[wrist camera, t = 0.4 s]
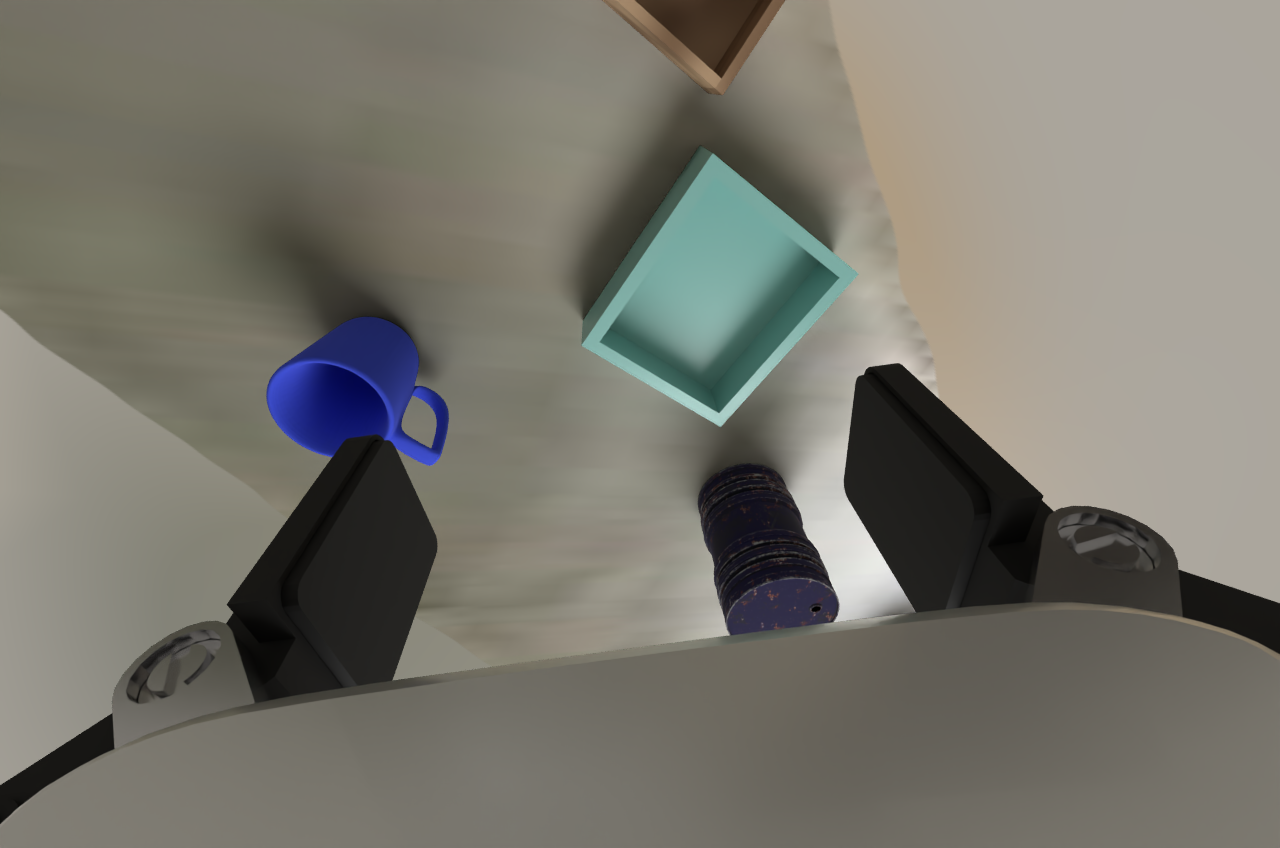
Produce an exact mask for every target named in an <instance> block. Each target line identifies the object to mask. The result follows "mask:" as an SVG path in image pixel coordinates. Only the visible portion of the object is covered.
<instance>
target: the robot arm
mask: <svg viewBox="0 0 1280 848" xmlns="http://www.w3.org/2000/svg"><path fill="white" fill-rule="evenodd" d="M844 488H845V493H846V496H847V498H848V500H849V501H850V503H851V505H852V506H853V508H854V510H855V511H856V513H857V515H858V516H859V518H860V520H861V521H862V523H863V525H864V526H865V528H866V530H867V531H868V533H869V534H870V536H871V538H872V539H873V541H874V543H875V544H876V546H877V548H878V549H879V551H880V553H881V554H882V556H883V558H884V559H885V561H886V563H887V564H888V566H889V568H890V569H891V571H892V573H893V574H894V576H895V578H896V579H897V581H898V583H899V584H900V586H901V588H902V589H903V591H904V593H905V594H906V596H907V598H908V599H909V601H910V603H911V604H912V606H913V608H914V609H915V611H916V613H909V614H900V615H891V616H882V617H873V618H865V619H857V620H849V621H841V622H833V623H825V624H817V625H809V626H801V627H793V628H785V629H778V630H770V631H762V632H754V633H746V634H738V635H730V636H722V637H714V638H707V639H699V640H691V641H684V642H676V643H668V644H661V645H653V646H645V647H638V648H630V649H623V650H615V651H607V652H600V653H592V654H585V655H577V656H570V657H562V658H555V659H547V660H539V661H532V662H525V663H518V664H510V665H503V666H496V667H489V668H481V669H475V670H467V671H460V672H453V673H445V674H438V675H430V676H423V677H415V678H408V679H401V680H393V677H394V674H395V671H396V668H397V665H398V663H399V660H400V657H401V654H402V651H403V648H404V645H405V642H406V640H407V636H408V634H409V631H410V628H411V625H412V622H413V619H414V617H415V614H416V611H417V608H418V605H419V602H420V599H421V596H422V594H423V591H424V588H425V585H426V582H427V579H428V576H429V573H430V571H431V568H432V565H433V562H434V559H435V556H436V553H437V538H436V535H435V532H434V530H433V528H432V526H431V524H430V522H429V519H428V517H427V515H426V513H425V511H424V509H423V507H422V504H421V502H420V500H419V498H418V496H417V494H416V491H415V489H414V487H413V485H412V483H411V481H410V478H409V476H408V474H407V472H406V470H405V468H404V465H403V463H402V461H401V459H400V457H399V455H398V452H397V450H396V448H395V446H394V444H393V443H392V442H391V441H390V440H384V439H383V438H382V437H381V436H380V435H377V434H375V435H367V436H360V437H353V438H347V439H346V440H345V441H344V442H343V443H342V444H341V446H340V447H339V449H338V450H337V451H336V453H335V454H334V456H333V457H332V458H331V460H330V461H329V463H328V464H327V465H326V467H325V468H324V470H323V471H322V472H321V474H320V475H319V477H318V478H317V479H316V481H315V482H314V484H313V485H312V486H311V488H310V489H309V490H308V492H307V493H306V495H305V496H304V497H303V499H302V500H301V502H300V503H299V504H298V506H297V507H296V509H295V510H294V511H293V513H292V514H291V516H290V517H289V518H288V520H287V521H286V523H285V524H284V525H283V527H282V528H281V529H280V531H279V532H278V534H277V535H276V536H275V538H274V539H273V541H272V542H271V544H270V545H269V546H268V548H267V549H266V550H265V552H264V554H263V555H262V556H261V557H260V559H259V560H258V562H257V563H256V564H255V566H254V567H253V569H252V570H251V572H250V573H249V574H248V575H247V577H246V578H245V580H244V581H243V582H242V584H241V585H240V587H239V588H238V590H237V591H236V592H235V594H234V595H233V596H232V598H231V599H230V601H229V602H228V604H227V606H228V607H229V608H230V609H231V610H232V611H233V614H232V616H231V617H230V619H229V620H228V622H227V623H226V624H225V623H222V622H219V621H206V622H201V623H197V624H194V625H190V626H187V627H185V628H183V629H181V630H178V631H176V632H174V633H172V634H170V635H168V636H167V637H165V638H164V639H162V640H161V641H159V642H158V643H156V644H155V645H153V646H151V647H150V648H149V649H148V650H147V651H146V652H144V653H143V654H142V655H141V656H140V657H139V658H137V659H136V660H135V661H134V662H133V664H132V665H131V666H130V667H129V668H128V669H127V670H126V671H125V672H124V674H123V675H122V677H121V679H120V680H119V682H118V684H117V685H116V687H115V689H114V693H113V698H112V712H113V713H112V714H110V715H109V716H107V717H106V718H104V719H103V720H101V721H99V722H98V723H97V724H95V725H93V726H92V727H90V728H89V729H87V730H86V731H84V732H82V733H81V734H79V735H78V736H76V737H75V738H73V739H71V740H70V741H68V742H67V743H65V744H64V745H62V746H61V747H59V748H57V749H56V750H55V751H53V752H51V753H50V754H48V755H47V756H45V757H44V758H42V759H40V760H39V761H37V762H36V763H34V764H33V765H31V766H30V767H28V768H26V769H25V770H23V771H22V772H20V773H19V774H17V775H16V776H14V777H13V778H11V779H10V780H8V781H6V782H5V783H3V784H2V785H0V848H1280V603H1277V602H1274V601H1271V600H1268V599H1265V598H1262V597H1259V596H1256V595H1253V594H1250V593H1247V592H1244V591H1241V590H1238V589H1235V588H1232V587H1229V586H1226V585H1223V584H1220V583H1217V582H1214V581H1211V580H1208V579H1205V578H1202V577H1199V576H1196V575H1193V574H1190V573H1187V572H1184V571H1181V570H1178V561H1177V558H1176V556H1175V553H1174V550H1173V548H1172V547H1171V546H1170V545H1169V544H1168V543H1167V542H1166V540H1165V539H1164V538H1163V537H1162V536H1160V535H1159V534H1158V533H1156V532H1155V531H1154V530H1152V529H1151V528H1149V527H1148V526H1147V525H1145V524H1143V523H1140V522H1138V521H1137V520H1135V519H1132V518H1130V517H1129V516H1126V515H1122V514H1120V513H1117V512H1114V511H1111V510H1107V509H1101V508H1096V507H1091V506H1070V507H1065V508H1060V509H1058V510H1056V511H1053V510H1052V509H1051V508H1050V507H1048V506H1047V505H1046V504H1045V503H1044V502H1043V501H1042V498H1043V495H1042V494H1041V493H1040V492H1039V491H1038V490H1037V489H1036V488H1035V487H1034V486H1033V485H1031V484H1030V483H1029V482H1028V481H1027V480H1026V479H1025V478H1024V477H1023V476H1022V475H1021V474H1020V473H1018V472H1017V471H1016V470H1015V469H1014V468H1013V467H1012V466H1011V465H1010V464H1009V463H1008V462H1007V461H1005V460H1004V459H1003V458H1002V457H1001V456H1000V455H999V454H998V453H997V452H996V451H995V450H993V449H992V448H991V447H990V446H989V445H988V444H987V443H986V442H985V441H984V440H983V439H982V438H980V437H979V436H978V435H977V434H976V433H975V432H974V431H973V430H972V429H971V428H970V427H969V426H968V425H967V424H965V423H964V422H963V421H962V420H961V419H960V418H959V417H958V416H957V415H956V414H955V413H954V412H952V411H951V410H950V409H949V408H948V407H947V406H946V405H945V404H944V403H943V402H942V401H941V400H939V399H938V398H937V397H936V396H935V395H934V394H933V393H932V392H931V391H930V390H929V389H928V388H926V387H925V386H924V385H923V384H922V383H921V382H920V381H919V380H918V379H917V378H916V377H915V376H914V375H912V374H911V373H910V372H909V371H908V370H907V369H906V368H905V367H904V366H903V365H901V364H899V363H895V364H888V365H881V366H873V367H869V368H867V369H866V371H865V373H864V375H861V376H859V377H858V378H857V380H856V384H855V392H854V401H853V409H852V417H851V425H850V434H849V442H848V450H847V458H846V467H845V475H844ZM392 680H393V681H392Z"/></svg>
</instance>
